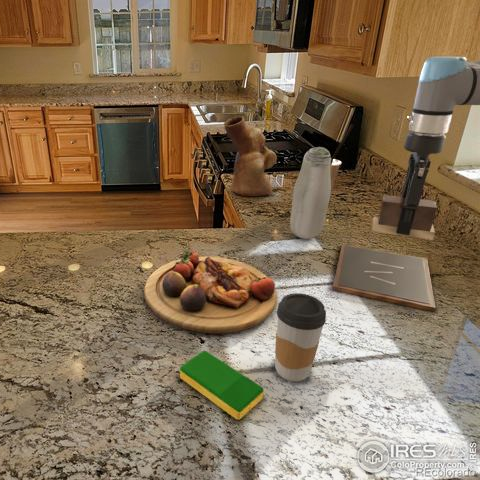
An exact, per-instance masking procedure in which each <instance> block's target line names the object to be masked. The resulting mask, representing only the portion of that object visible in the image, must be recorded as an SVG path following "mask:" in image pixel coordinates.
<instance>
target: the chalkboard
mask: <svg viewBox="0 0 480 480" xmlns="http://www.w3.org/2000/svg"><path fill="white" fill-rule="evenodd" d="M332 291H336V292H339V293H341V292H342V293H346V294H350V295H356V296H359V297H364V298H369V299H373V300H378V301H383V302H387V303H392V304H397V305H402V306H405V307H406V306H407V307H411V308H414V309H420V310H425V311H430V312H435V311H436V303H435V297H434V292H433V286H432V280H431V275H430V269H429V263H428V258H427V257H420V256H415V255H408V254H403V253H397V252H392V251H386V250H380V249H375V248H369V247H364V246H357V245H352V244H345V243H341V248H340V252H339V257H338V262H337V265H336V271H335V275H334V279H333V285H332Z"/></svg>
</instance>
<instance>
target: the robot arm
mask: <svg viewBox="0 0 480 480" xmlns="http://www.w3.org/2000/svg"><path fill="white" fill-rule="evenodd" d="M416 89H417V90H416V94H415V99H414V103H413V107H412V113H411V115H410V116H409V115H408V116H407V118H406V119H407V121H408V122H409V125H408V130H409V131H408V132H407V133H406V135H405V139H404V145H403V148H404V150H405V151H408V152H411V154H410V156H409V158H408V166H407V168H406V176H405V178H404V182H403V183H404V184H403V187H402V190H401V193H402V194H401V197H406V199H405V204H404V206H400V208H402V211H401V215H400V219H399V223H398V227H397V231H396V233H398V234H404V235H409V234H410V230H411V226H412V223H413V219H414V215H415V211H416V210H418V208H419V207H418V206H419V202H420V199H422V194H423V191H424V187H425V183H426V179H427V176H428V173H429V172H430V166H431V163H432V162H431V160H430V158H429V156H430V155H432V154H433V155H436V154H437V155H438V154H441V152H442V151H443V150H444V147H445V142H446V139H447V136H446V135H445V134H447V133H449V129H450V125H451V121H452V118H453V113H454V110H455V107H456V106H480V59H478V60H473V61H468V59H467V58H466V57H465V56H444V55H443V56H430V57H429V58H427V59H426V60H425V62H424V63H423V67H422V69H421V72H420V76H419V78H418V84H417V88H416Z"/></svg>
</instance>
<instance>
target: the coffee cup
mask: <svg viewBox="0 0 480 480" xmlns="http://www.w3.org/2000/svg"><path fill="white" fill-rule="evenodd" d="M276 316H277V319H276V331H275V348H274V354H275V355H274V357H275V358H274V367H275V370H276V372H277V374H278V375H279V376H280V377H281V378H283V379H285V380H286V381H289V382H296V383H297V382H302V381H304V380H306V379H307V378H308V377H309V376H310V374H311V370H312V367H313V363H314V361H315V358H316V355H317V351H318V349H319V348H318V347H319V344H320V338H321V335H322V332H323V328H324V325H325V324H326V321H327V312H326V310H325V305H324V303H323V302H322V301H321V300H319V299H318V298H317V297H315V296H313V295H309V294H306V293H297V292H296V293H289V294H286V295H284V296H283V297H282V299H280V301H279V303H278V305H277V308H276Z"/></svg>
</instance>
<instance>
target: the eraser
mask: <svg viewBox="0 0 480 480" xmlns="http://www.w3.org/2000/svg"><path fill="white" fill-rule="evenodd" d="M405 199H406V197H402V196H398V195H397V196H396V195H388V194H383V195H382V199H381V202H380V203H381V204H380V206H379V211H378V215H377V216H373V218H372V222H371V232H374V233H382V234H389V235H395V236H402V237H408V238H416V239H423V240H430V241H434V238H435V235H436V231H435V227H434V224H433V223H434V220H435V217H436V214H437V210H438V206H437V204H436V201H435V200H431V199H423V198H420V202H419V206H418V207H419V208H418V210H416V211H415V215H414V219H413V223H412V226H411V230H410V234H409V235H404V234H398V233H396V231H397V227H398V223H399V219H400V215H401V211H402V208H400V206H404V204H405Z"/></svg>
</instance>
